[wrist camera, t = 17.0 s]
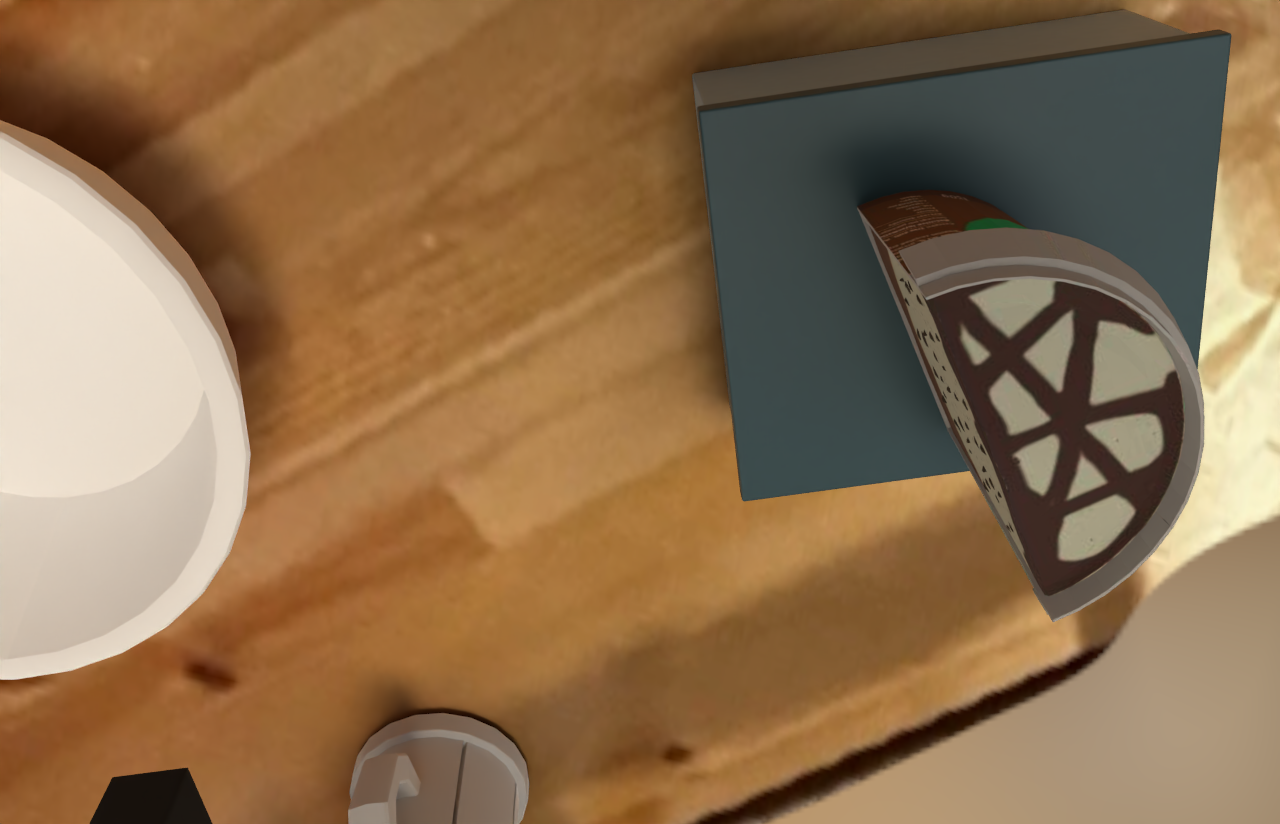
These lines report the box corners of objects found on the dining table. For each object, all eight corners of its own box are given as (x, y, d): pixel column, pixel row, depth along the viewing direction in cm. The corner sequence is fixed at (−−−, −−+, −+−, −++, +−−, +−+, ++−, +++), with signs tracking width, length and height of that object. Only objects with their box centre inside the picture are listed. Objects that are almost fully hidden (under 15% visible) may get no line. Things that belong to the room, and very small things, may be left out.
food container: (1123, 394, 41) (1268, 555, 32) (960, 462, 42) (1058, 636, 33) (1023, 80, 36) (1165, 169, 27) (840, 166, 37) (918, 279, 28)
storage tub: (1134, -1, 42) (1232, 32, 35) (1112, 358, 48) (1191, 441, 42) (682, 66, 42) (698, 111, 36) (723, 412, 49) (742, 502, 43)
